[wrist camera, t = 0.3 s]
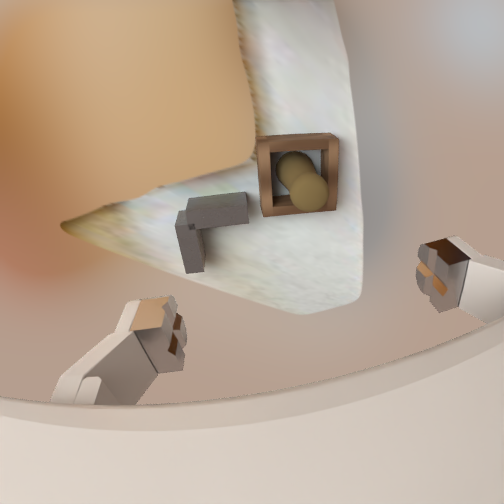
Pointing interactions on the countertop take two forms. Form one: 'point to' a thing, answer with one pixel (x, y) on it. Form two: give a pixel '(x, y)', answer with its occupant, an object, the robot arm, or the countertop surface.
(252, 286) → the countertop surface
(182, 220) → the v block
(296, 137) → the sleeve
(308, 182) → the cork
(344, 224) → the countertop surface
